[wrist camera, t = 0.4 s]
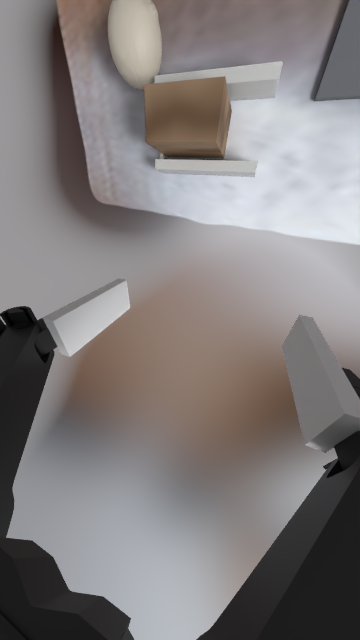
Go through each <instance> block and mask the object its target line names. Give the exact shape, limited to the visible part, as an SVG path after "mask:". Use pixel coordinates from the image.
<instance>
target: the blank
mask: <svg viewBox="0 0 360 640" xmlns="http://www.w3.org/2000/svg"><path fill="white" fill-rule="evenodd" d="M144 95H145V127H146V143H148V144H149V145H151V146H152V147H154V148H155V149H157V150H158V151H160V152H161V153H162V154H164V155H165V156H167V157H186V158H224V155H225V149H226V143H227V137H228V130H229V124H230V118H231V112H232V110H231V105H230V99H229V94H228V88H227V83H226V77H225V76H223V77H213V78H203V79H193V80H183V81H173V82H163V83H153V84H144Z"/></svg>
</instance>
